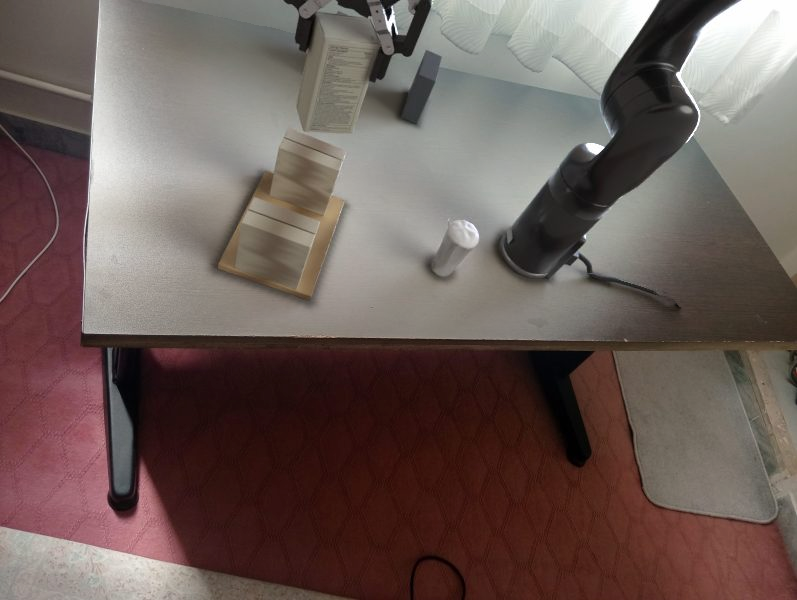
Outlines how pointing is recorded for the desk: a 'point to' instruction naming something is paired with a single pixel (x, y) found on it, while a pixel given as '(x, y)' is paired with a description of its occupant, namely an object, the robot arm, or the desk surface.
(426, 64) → the grey bookends
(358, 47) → the cosmetic box
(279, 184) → the wooden holder
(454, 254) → the milkshake
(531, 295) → the desk surface
